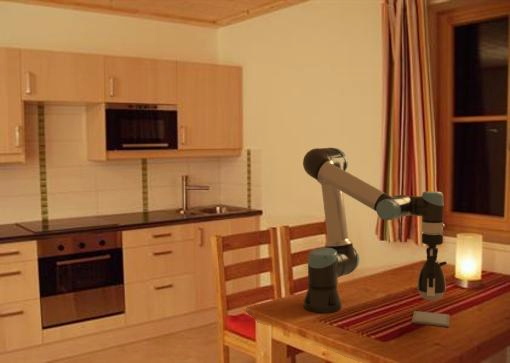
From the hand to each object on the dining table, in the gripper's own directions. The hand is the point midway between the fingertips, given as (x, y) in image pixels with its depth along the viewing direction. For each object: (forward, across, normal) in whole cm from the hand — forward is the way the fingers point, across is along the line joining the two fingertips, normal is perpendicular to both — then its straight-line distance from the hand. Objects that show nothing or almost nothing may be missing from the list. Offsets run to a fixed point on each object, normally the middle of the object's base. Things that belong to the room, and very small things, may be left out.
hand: (431, 291), depth 204 cm
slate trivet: (+11, 0, 0) cm, 11 cm away
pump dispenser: (+3, 0, 0) cm, 3 cm away
